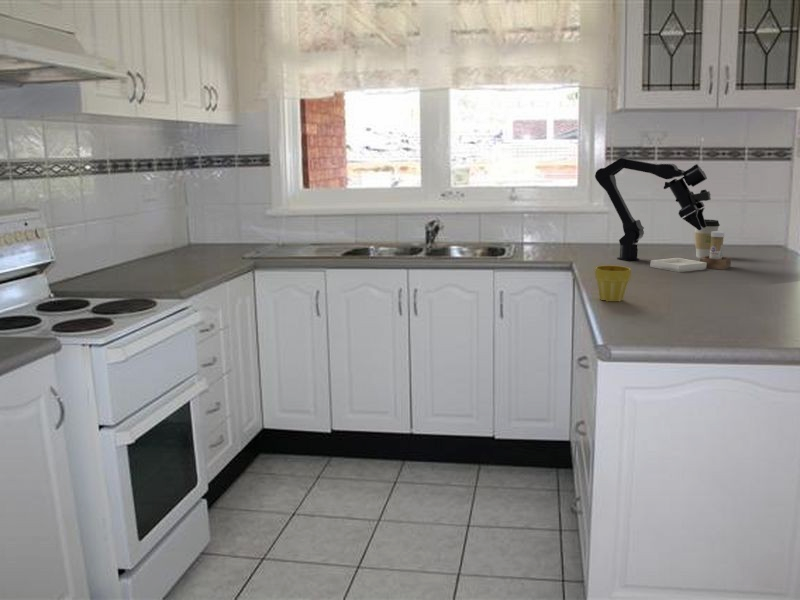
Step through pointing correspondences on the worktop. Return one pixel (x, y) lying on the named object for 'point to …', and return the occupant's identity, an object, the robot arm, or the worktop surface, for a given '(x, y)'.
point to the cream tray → (678, 264)
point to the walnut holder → (717, 262)
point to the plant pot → (612, 281)
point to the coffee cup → (705, 238)
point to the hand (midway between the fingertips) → (702, 228)
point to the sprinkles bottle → (716, 245)
